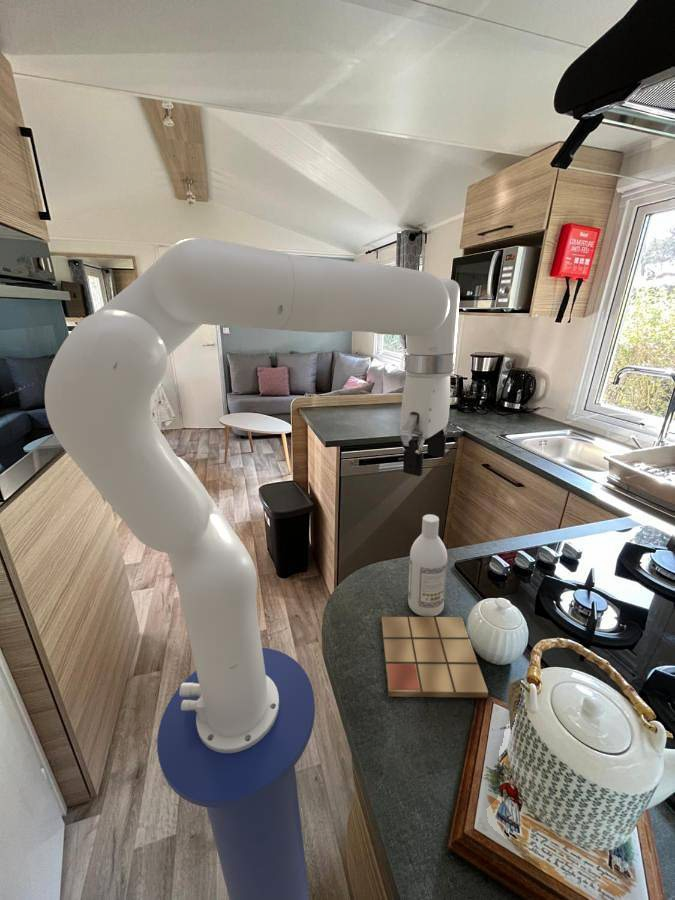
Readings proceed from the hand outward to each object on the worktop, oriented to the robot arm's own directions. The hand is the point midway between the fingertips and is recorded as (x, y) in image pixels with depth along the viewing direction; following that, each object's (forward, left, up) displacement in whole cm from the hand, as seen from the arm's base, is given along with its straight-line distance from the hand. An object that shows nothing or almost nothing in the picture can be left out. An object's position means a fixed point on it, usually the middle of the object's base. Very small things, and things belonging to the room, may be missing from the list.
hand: (424, 464), depth 66 cm
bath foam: (+1, -1, -31) cm, 31 cm away
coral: (+11, -27, -31) cm, 42 cm away
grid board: (0, -12, -30) cm, 33 cm away
